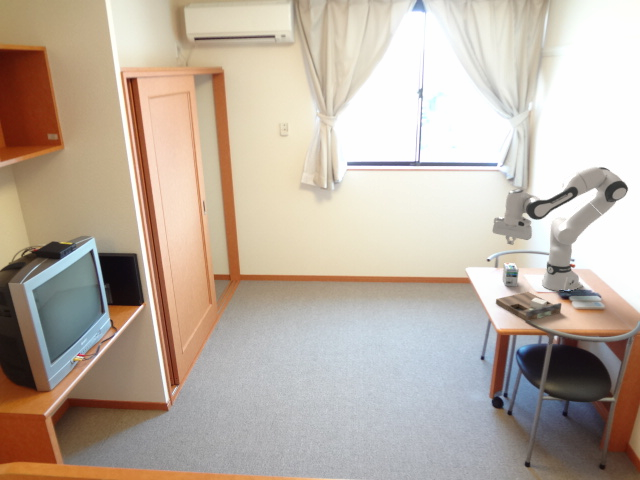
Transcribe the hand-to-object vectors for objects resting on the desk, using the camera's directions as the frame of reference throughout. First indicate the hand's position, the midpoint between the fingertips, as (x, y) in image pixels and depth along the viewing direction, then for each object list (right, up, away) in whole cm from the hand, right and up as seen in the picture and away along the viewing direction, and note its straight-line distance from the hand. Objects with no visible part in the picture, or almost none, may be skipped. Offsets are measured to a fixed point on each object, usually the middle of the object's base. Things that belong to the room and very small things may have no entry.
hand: (510, 244), depth 257 cm
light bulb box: (+8, -23, +22) cm, 33 cm away
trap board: (+5, -33, -9) cm, 35 cm away
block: (+9, -32, -14) cm, 36 cm away
